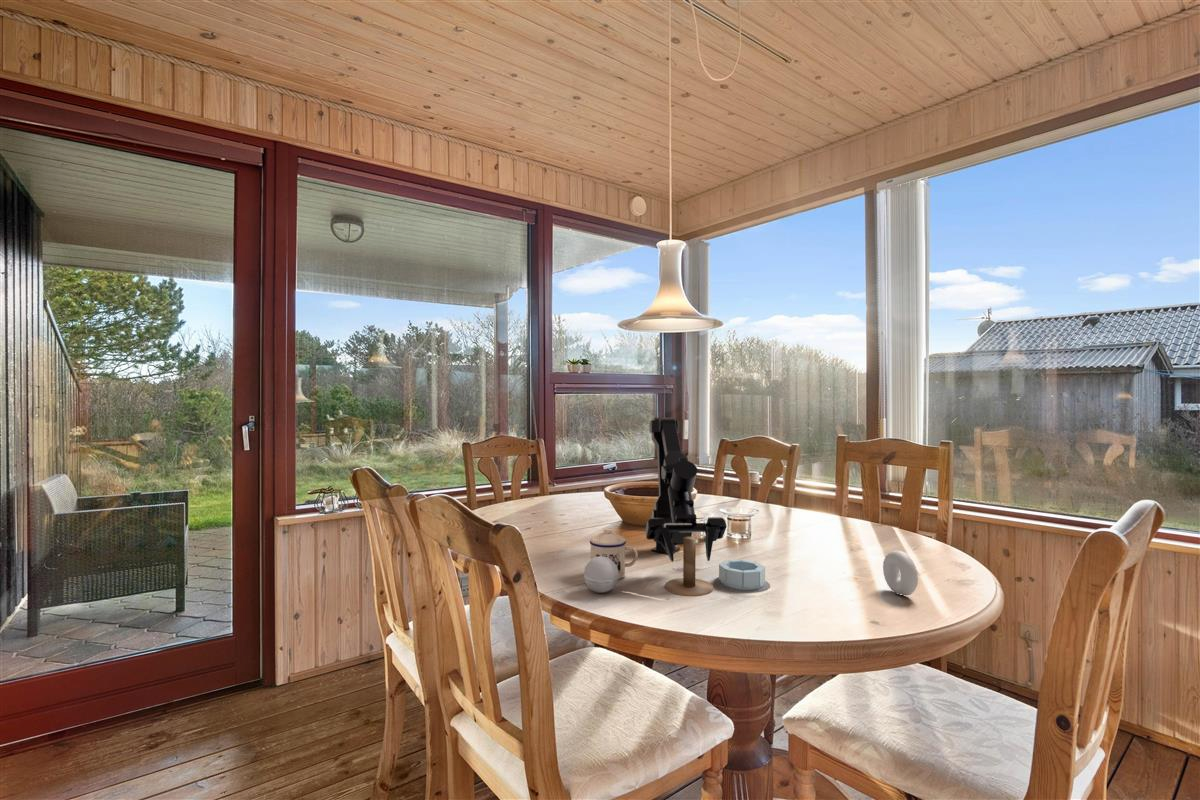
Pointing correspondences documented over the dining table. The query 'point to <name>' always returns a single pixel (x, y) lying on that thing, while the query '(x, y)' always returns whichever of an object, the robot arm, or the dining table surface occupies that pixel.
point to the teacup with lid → (612, 549)
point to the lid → (689, 574)
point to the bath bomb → (601, 574)
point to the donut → (907, 569)
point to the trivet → (764, 588)
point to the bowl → (742, 574)
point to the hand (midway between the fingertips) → (690, 560)
